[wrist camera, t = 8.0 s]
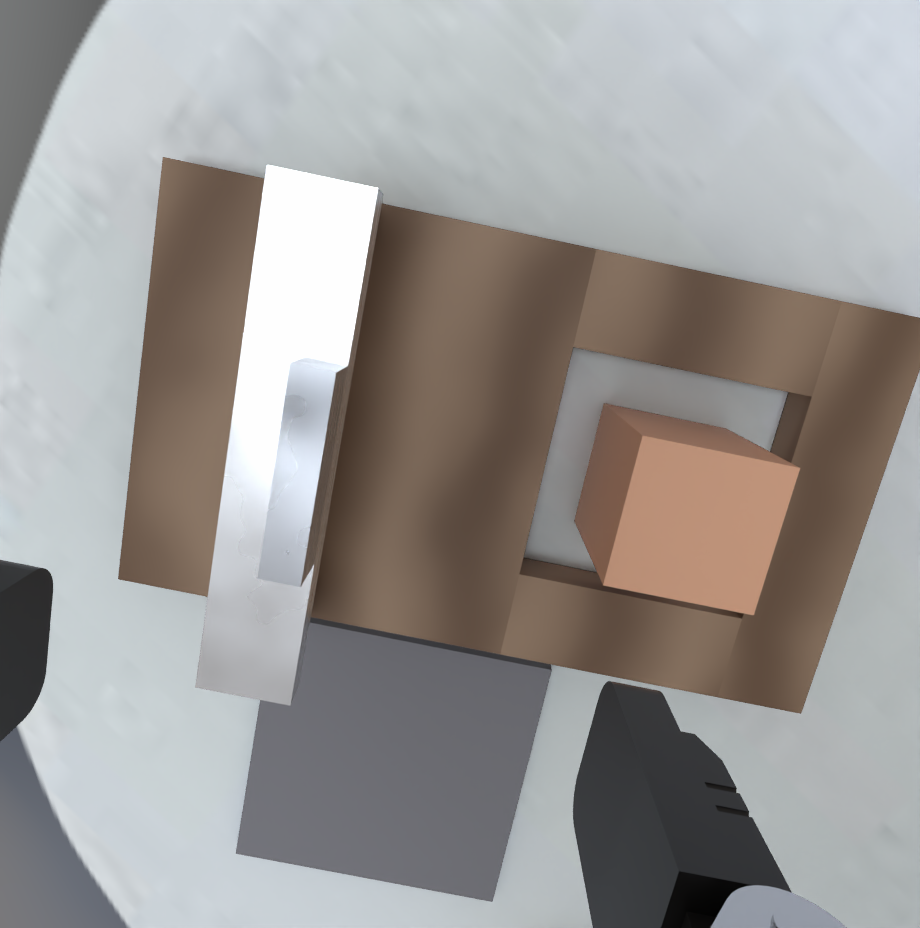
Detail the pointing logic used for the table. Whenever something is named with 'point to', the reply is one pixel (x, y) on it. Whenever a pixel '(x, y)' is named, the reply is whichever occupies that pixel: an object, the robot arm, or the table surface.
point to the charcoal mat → (394, 760)
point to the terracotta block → (682, 509)
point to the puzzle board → (510, 437)
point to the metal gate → (286, 429)
